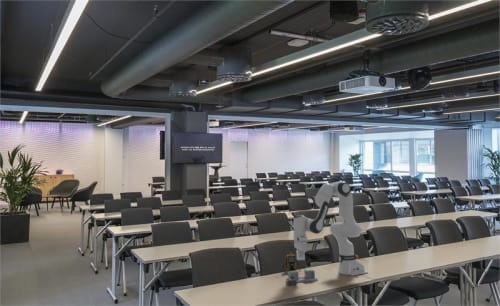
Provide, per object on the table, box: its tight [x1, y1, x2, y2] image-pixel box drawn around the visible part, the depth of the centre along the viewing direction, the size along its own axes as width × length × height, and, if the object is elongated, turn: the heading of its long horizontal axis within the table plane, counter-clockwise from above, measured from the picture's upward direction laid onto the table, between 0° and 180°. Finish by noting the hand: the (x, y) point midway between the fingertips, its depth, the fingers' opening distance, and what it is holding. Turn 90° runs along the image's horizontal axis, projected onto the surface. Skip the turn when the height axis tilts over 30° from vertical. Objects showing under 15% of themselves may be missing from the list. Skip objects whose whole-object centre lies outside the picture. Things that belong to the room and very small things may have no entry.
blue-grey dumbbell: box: [285, 268, 319, 283], centre depth 289 cm, size 22×7×7 cm, turn 101°
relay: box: [286, 278, 298, 286], centre depth 280 cm, size 6×4×4 cm, turn 95°
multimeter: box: [282, 245, 301, 274], centre depth 314 cm, size 15×10×20 cm
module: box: [295, 249, 306, 261], centre depth 290 cm, size 4×5×7 cm
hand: (300, 255), depth 289 cm, fingers closed on module, 4 cm apart
